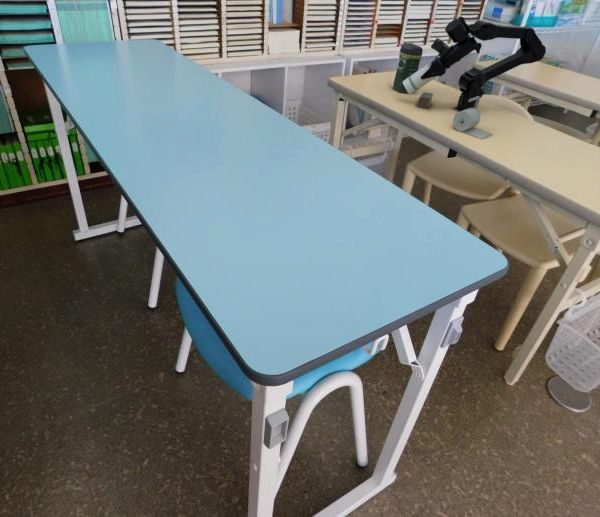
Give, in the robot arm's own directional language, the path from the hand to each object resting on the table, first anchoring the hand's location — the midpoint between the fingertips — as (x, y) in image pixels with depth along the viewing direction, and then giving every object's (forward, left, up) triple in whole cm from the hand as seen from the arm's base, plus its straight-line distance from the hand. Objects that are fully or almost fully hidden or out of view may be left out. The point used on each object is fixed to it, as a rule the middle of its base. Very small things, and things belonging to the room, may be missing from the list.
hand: (422, 76), depth 174 cm
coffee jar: (+17, -8, -11) cm, 22 cm away
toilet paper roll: (-30, +3, -11) cm, 32 cm away
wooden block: (-3, -2, -10) cm, 11 cm away
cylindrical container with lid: (+1, 0, -7) cm, 7 cm away
